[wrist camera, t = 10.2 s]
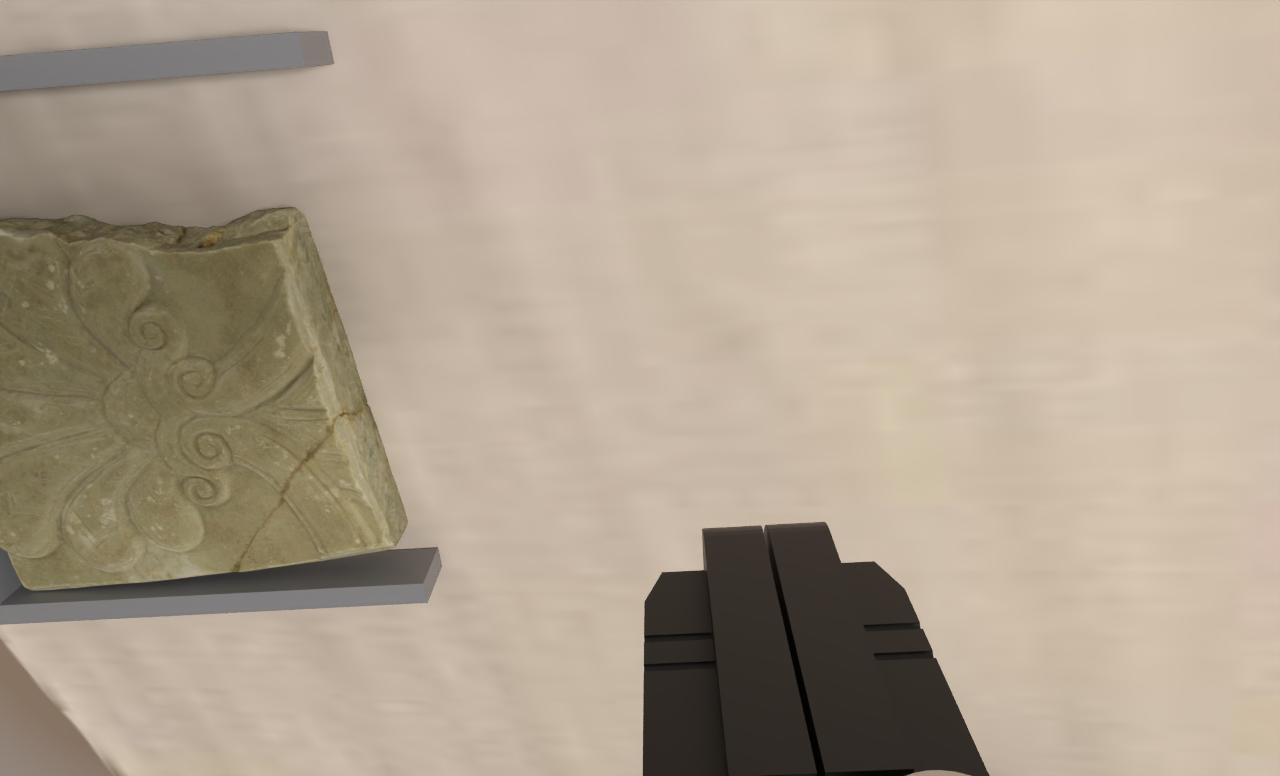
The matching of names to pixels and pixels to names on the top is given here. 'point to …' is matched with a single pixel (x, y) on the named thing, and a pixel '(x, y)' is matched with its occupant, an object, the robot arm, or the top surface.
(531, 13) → the top surface
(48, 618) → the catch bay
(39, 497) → the decorative tile
